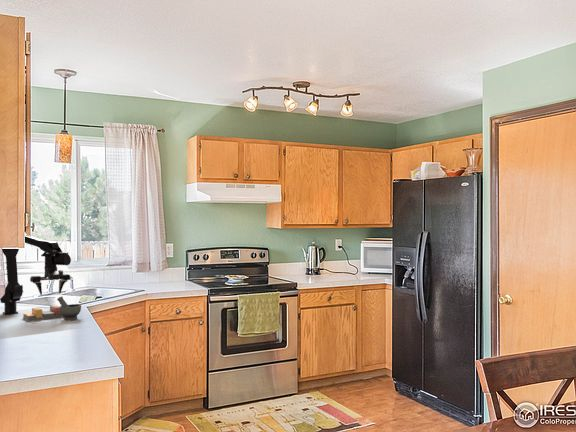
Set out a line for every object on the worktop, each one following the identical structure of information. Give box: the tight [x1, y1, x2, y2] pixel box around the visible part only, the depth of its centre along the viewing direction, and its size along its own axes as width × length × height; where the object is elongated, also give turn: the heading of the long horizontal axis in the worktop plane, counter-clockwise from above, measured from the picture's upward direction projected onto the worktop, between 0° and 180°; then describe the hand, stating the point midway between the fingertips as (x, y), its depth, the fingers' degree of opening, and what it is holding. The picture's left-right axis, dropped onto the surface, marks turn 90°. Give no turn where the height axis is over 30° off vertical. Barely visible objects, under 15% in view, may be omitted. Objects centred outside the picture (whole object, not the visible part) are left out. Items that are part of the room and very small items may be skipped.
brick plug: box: [49, 304, 62, 315], centre depth 268 cm, size 9×3×4 cm, turn 46°
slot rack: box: [22, 309, 64, 322], centre depth 264 cm, size 10×20×3 cm, turn 130°
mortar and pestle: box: [57, 295, 82, 322], centre depth 258 cm, size 11×9×12 cm
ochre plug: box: [31, 306, 43, 318], centre depth 262 cm, size 9×3×4 cm, turn 39°
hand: (50, 294), depth 271 cm, fingers open, 9 cm apart
